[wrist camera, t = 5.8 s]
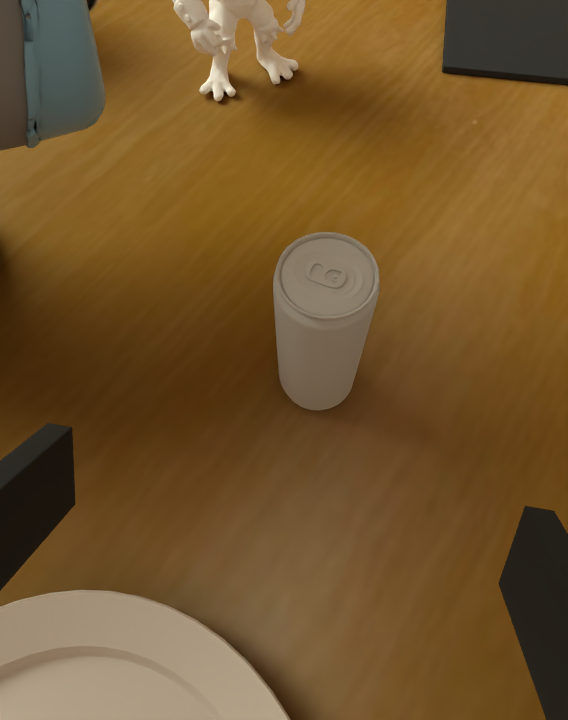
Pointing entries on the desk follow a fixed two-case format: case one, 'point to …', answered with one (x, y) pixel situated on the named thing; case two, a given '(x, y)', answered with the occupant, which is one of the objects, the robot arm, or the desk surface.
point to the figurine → (219, 36)
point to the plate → (121, 663)
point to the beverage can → (323, 316)
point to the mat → (507, 39)
